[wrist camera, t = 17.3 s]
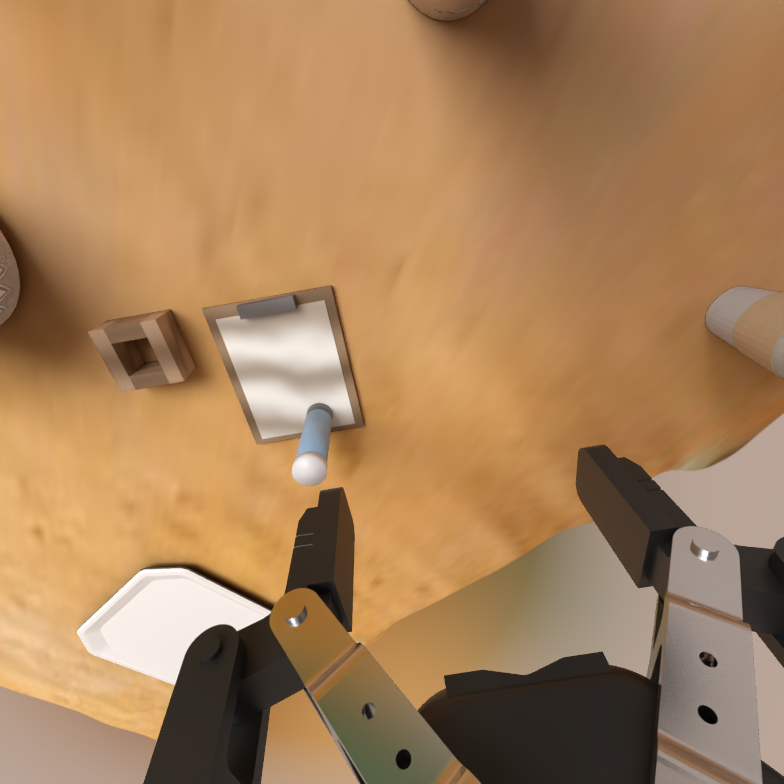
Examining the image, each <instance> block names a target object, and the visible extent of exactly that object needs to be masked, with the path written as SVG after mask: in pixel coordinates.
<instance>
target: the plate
mask: <svg viewBox="0 0 784 784" xmlns="http://www.w3.org/2000/svg"><path fill="white" fill-rule="evenodd" d="M271 611H272V610H271V609H269V608H267V607H265V606H263V605H261V604H259V603H257V602H255V601H253V600H251V599H249V598H247V597H245V596H243V595H241V594H239V593H237V592H235V591H233V590H231V589H229V588H227V587H225V586H224V585H222V584H220V583H218V582H216V581H214V580H212V579H210V578H208V577H206V576H204V575H202V574H200V573H198V572H196V571H194V570H192V569H190V568H187V567H183V566H176V567H150V568H144V569H141V570H140V571H139V572H138V573H137V574H136V575H135V576H134V577H133V578H131V579H130V580H129V581H128V582H127V583H126V584H125V585H124V586H123V587H122V588H121V589H120V590H119V591H118V592H117V593H115V594H114V595H113V596H112V597H111V598H110V599H109V600H108V601H107V602H106V603H105V604H104V605H103V606H102V607H101V608H100V609H98V610H97V611H96V612H95V613H94V614H93V615H92V616H91V617H90V618H89V619H88V620H87V621H86V622H85V623H84V624H83V625H81V626H80V627H79V628H78V630H77V634H78V635H79V637H80V639H81V640H82V642H83V644H84V645H85V647H86V649H87V650H88V652H90V653H91V654H92V655H95V656H98V657H100V658H103V659H106V660H108V661H111V662H114V663H116V664H119V665H122V666H125V667H127V668H130V669H133V670H135V671H138V672H141V673H143V674H146V675H149V676H152V677H154V678H157V679H160V680H162V681H165V682H168V683H170V684H173V685H175V684H176V681H177V678H178V674H179V671H180V668H181V665H182V662H183V659H184V656H185V653H186V651H187V649H188V648H189V646H190V645H191V643H192V642H193V641H194V640H195V639H196V638H197V637H198V636H199V635H200V634H201V633H202V632H204V631H205V630H207V629H208V628H210V627H213V626H216V625H220V624H227V625H231V626H232V627H234V628H235V629H236V631H238V630H241V629H243V628H245V627H247V626H249V625H251V624H253V623H255V622H257V621H259V620H261V619H263V618H265V617H266V616H267V615H269V614H270V613H271Z"/></svg>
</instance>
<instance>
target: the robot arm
mask: <svg viewBox="0 0 784 784" xmlns="http://www.w3.org/2000/svg"><path fill="white" fill-rule="evenodd" d="M409 1H410V2H411V3H412V4H413V5H414V6H415V7H416V8H417V9H418V10H419V11H420V12H422V13H423V14H425V15H427V16H429V17H431V18H434V19H438V20H442V21H448V20H457V19H460V18H463V17H466V16H468V15H469V14H471V13H472V12H474V11H475V10H477V9H478V8H479V7H480V6H481V5H482V4H483V3H484V2H485V1H486V0H409ZM576 489H577V493H578V496H579V498H580V500H581V502H582V504H583V505H584V507H585V508H586V510H587V511H588V513H589V514H590V516H591V517H592V519H593V520H594V522H595V523H596V525H597V526H598V528H599V529H600V531H601V532H602V534H603V536H604V537H605V538H606V540H607V541H608V543H609V545H610V546H611V547H612V549H613V551H614V552H615V554H616V555H617V557H618V558H619V560H620V561H621V563H622V564H623V566H624V567H625V569H626V570H627V572H628V573H629V575H630V576H631V578H632V580H633V581H634V583H635V584H636V586H637V587H638V588H643V587H649V586H653V587H654V588H655V590H656V591H657V593H658V598H657V603H656V612H655V621H654V629H653V637H652V646H651V654H650V661H649V666H648V672H647V677H644V676H642V675H640V674H638V673H636V672H633V671H630V670H628V669H625V668H621V667H617V666H613V665H609V664H608V662H607V660H606V658H605V656H604V654H603V652H597V653H590V654H584V655H577V656H570V657H564V658H561V659H559V660H557V661H555V662H553V663H551V664H549V665H547V666H545V667H543V668H541V669H539V670H537V671H535V672H533V673H531V674H528V675H518V674H510V673H503V672H495V671H487V670H478V671H472V672H465V673H459V674H452V675H446V676H444V678H445V685H446V688H445V689H443V690H441V691H439V692H438V693H436V694H435V695H433V696H432V697H430V698H429V699H428V700H427V701H426V702H425V703H424V704H423V705H422V706H421V707H420V708H419V709H418V711H417V710H416V708H415V707H414V706H413V705H412V704H411V702H410V701H409V700H408V699H407V698H406V696H405V695H404V694H403V692H402V691H401V690H400V689H399V688H398V687H397V685H396V684H395V683H394V681H393V680H392V679H391V678H390V677H389V675H388V674H387V673H386V672H385V670H384V669H383V668H382V667H381V665H380V664H379V663H378V662H377V661H376V659H375V658H374V657H373V656H372V654H371V653H370V652H369V651H368V650H367V649H366V647H365V646H364V645H363V644H361V643H358V644H357V643H356V642H355V641H354V640H353V639H352V637H351V636H350V635H349V634H348V632H352V611H353V577H354V542H355V533H354V524H353V519H352V516H351V512H350V509H349V506H348V502H347V499H346V495H345V492H344V489H343V488H342V487H340V488H334V489H328V490H322V491H320V495H319V502H318V507H314V508H308V509H307V510H306V511H305V513H304V514H303V516H302V517H301V519H300V520H299V523H298V528H297V533H296V538H295V544H294V549H293V554H292V559H291V565H290V570H289V575H288V580H287V586H286V590H285V594H284V595H283V596H282V597H281V598H280V599H279V600H278V601H277V602H276V604H275V605H274V607H273V609H272V611H271V613H270V614H269V615H267V616H266V617H265V618H263V619H261V620H259V621H257V622H255V623H253V624H251V625H249V626H247V627H245V628H243V629H241V630H238V631H236V629H235V628H234V627H232V626H231V625H227V624H220V625H216V626H213V627H210V628H208V629H207V630H205V631H204V632H202V633H201V634H200V635H199V636H198V637H197V638H196V639H195V640H194V641H193V642H192V643H191V645H190V646H189V648H188V649H187V651H186V653H185V656H184V659H183V662H182V665H181V668H180V671H179V674H178V678H177V681H176V684H175V687H174V690H173V693H172V696H171V699H170V702H169V706H168V709H167V712H166V715H165V718H164V721H163V724H162V727H161V730H160V734H159V737H158V740H157V743H156V746H155V749H154V752H153V755H152V758H151V762H150V765H149V768H148V771H147V774H146V777H145V780H144V783H143V784H261V777H262V769H263V762H264V754H265V745H266V738H267V730H268V722H269V714H270V707H271V706H272V705H274V704H276V703H278V702H280V701H282V700H284V699H285V698H287V697H289V696H291V695H293V694H295V693H297V692H298V691H300V690H302V689H303V690H304V691H305V693H306V694H307V696H308V698H309V699H310V701H311V703H312V705H313V706H314V708H315V710H316V711H317V713H318V715H319V716H320V718H321V719H322V721H323V723H324V724H325V726H326V728H327V730H328V731H329V733H330V735H331V736H332V738H333V739H334V741H335V743H336V745H337V746H338V748H339V750H340V751H341V753H342V755H343V757H344V759H345V760H346V762H347V764H348V766H349V767H350V769H351V771H352V773H353V774H354V776H355V777H356V779H357V781H358V783H359V784H784V776H782V775H781V774H780V773H778V772H777V771H775V770H774V769H773V768H771V767H770V766H769V765H767V764H766V763H765V762H763V761H762V760H761V756H760V743H759V727H758V714H757V699H756V686H755V671H754V657H753V642H752V631H754V632H756V633H757V634H758V635H759V637H760V638H761V639H762V640H763V642H764V643H765V644H766V645H767V647H768V648H769V650H770V651H771V652H772V653H773V654H774V656H775V657H776V658H777V660H778V661H779V662H780V664H781V665H782V666H783V667H784V537H783V538H780V539H779V540H778V541H777V542H776V544H775V546H774V548H773V549H765V548H756V547H746V546H738V545H733V544H732V543H731V542H730V541H729V540H728V539H727V538H725V537H724V536H722V535H720V534H719V533H717V532H715V531H712V530H709V529H706V528H702V527H697V526H696V525H695V524H694V523H693V522H692V521H691V520H690V518H689V517H688V516H687V515H686V514H685V513H684V512H683V511H682V510H681V509H680V508H679V507H678V506H677V505H676V504H675V502H674V501H673V500H672V499H671V498H670V497H669V496H668V495H667V494H666V493H665V492H664V491H663V490H661V489H660V487H659V485H658V484H657V483H656V482H655V481H653V480H652V478H651V477H650V476H649V475H648V474H647V473H646V472H645V471H644V469H643V468H642V467H641V466H639V465H637V464H636V463H634V462H632V461H630V460H629V459H627V458H625V457H623V458H617V457H616V456H615V455H614V454H613V453H612V451H611V450H610V449H609V448H608V447H607V446H606V445H598V446H592V447H586V448H581V449H580V450H579V452H578V463H577V475H576Z"/></svg>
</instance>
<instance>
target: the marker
mask: <svg viewBox="0 0 784 784" xmlns="http://www.w3.org/2000/svg"><path fill="white" fill-rule="evenodd" d="M332 418H333V412H332V409H331V408H330V407H329V406H328V405H326V404H324V403H315V404H313V405H311V406H310V407H309V408H308V410H307V414H306V418H305V422H304V426H303V431H302V435H301V439H300V443H299V447H298V452H297V456H296V458H295V460H294V464H293V468H292V476H293V478H294V479H295V480H296V481H297V482H298V483H300V484H302V485H305V486H315V485H318V484H320V483H321V482H323V481H324V479H325V478H326V474H327V458H328V450H329V442H330V434H331V426H332Z"/></svg>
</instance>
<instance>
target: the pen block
mask: <svg viewBox="0 0 784 784" xmlns="http://www.w3.org/2000/svg"><path fill="white" fill-rule="evenodd" d="M88 333H89V335H90V337H91V339H92V341H93V342H94V344H95V346H96V348H97V349H98V351H99V353H100V355H101V357H102V358H103V360H104V362H105V364H106V365H107V367H108V369H109V371H110V373H111V374H112V376H113V378H114V380H115V381H116V383H117V385H118V387H119V389H120V390H121V392H125V391H131V390H137V389H142V388H148V387H154V386H160V385H165V384H171V383H177V382H182V381H185V380H186V378H187V377H188V376H189V375H190V374H191V373H192V372H193V370H194V369H195V368H196V366H195V364H194V362H193V359H192V357H191V355H190V353H189V350H188V348H187V346H186V344H185V341H184V339H183V337H182V335H181V332H180V330H179V328H178V326H177V323H176V321H175V319H174V317H173V314H172V312H171V310H164V311H158V312H153V313H147V314H142V315H136V316H131V317H125V318H120V319H114V320H108V321H106V322H104V323H102V324H101V325H99V326H97V327H95V328H94V329H92V330H90V331H88ZM141 338H148V340H149V342H150V344H151V346H152V348H153V350H154V353H155V355H156V357H157V359H158V361H153V362H148V363H144V361H143V359H142V357H141V355H140V353H139V351H138V349H137V347H136V345H135V343H134V341H133V340H136V339H141Z"/></svg>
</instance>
